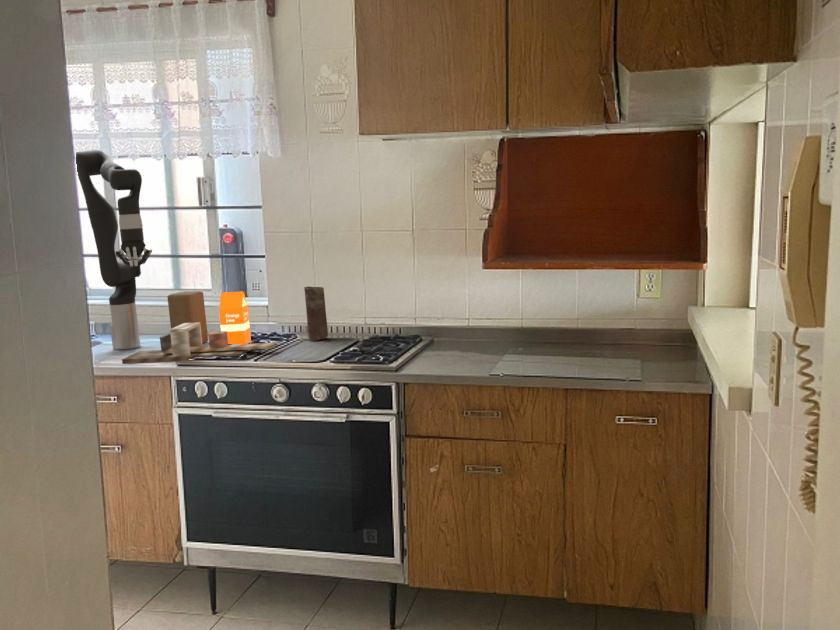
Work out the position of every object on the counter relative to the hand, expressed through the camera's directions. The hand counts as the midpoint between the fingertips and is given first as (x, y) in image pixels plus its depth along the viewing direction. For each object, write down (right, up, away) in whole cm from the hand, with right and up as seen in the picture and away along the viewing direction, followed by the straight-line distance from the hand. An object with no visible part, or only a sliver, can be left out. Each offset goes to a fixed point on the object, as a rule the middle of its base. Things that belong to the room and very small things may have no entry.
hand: (136, 276), depth 281 cm
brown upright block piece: (+62, -23, +17) cm, 68 cm away
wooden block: (+12, -25, +23) cm, 36 cm away
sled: (+30, -26, -2) cm, 39 cm away
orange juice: (+32, -25, +16) cm, 43 cm away
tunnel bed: (+19, -28, 0) cm, 34 cm away
